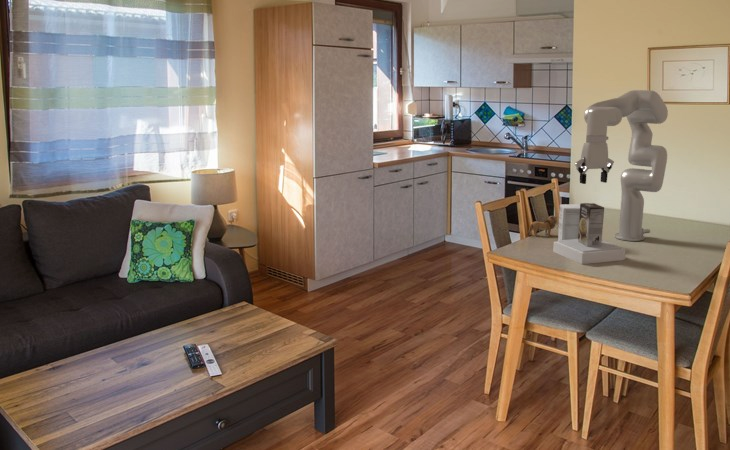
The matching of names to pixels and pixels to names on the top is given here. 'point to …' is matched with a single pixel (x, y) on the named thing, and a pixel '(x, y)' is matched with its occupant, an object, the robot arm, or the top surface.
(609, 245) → the square tray
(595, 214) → the coffee box
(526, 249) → the top surface
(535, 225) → the lion figurine
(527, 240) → the top surface
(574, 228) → the supplement box
